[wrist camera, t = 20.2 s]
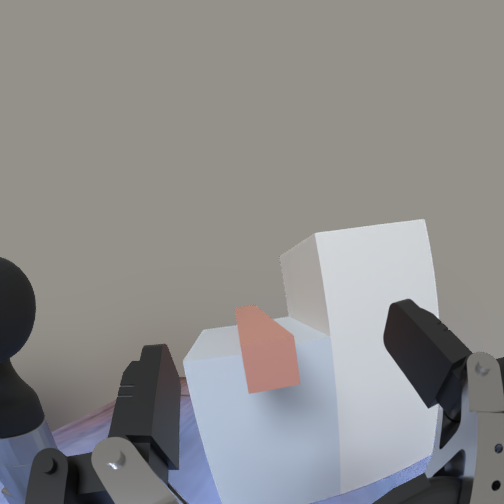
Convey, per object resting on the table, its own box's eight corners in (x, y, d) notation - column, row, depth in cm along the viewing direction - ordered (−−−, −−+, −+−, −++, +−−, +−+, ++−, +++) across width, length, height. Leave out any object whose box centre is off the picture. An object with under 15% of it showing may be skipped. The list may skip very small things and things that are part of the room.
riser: (431, 454, 24) (424, 218, 28) (226, 516, 22) (166, 254, 25) (372, 409, 44) (355, 244, 47) (226, 443, 41) (194, 268, 45)
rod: (300, 384, 15) (293, 335, 15) (248, 393, 14) (240, 344, 15) (257, 323, 42) (254, 304, 43) (237, 326, 42) (234, 307, 42)
